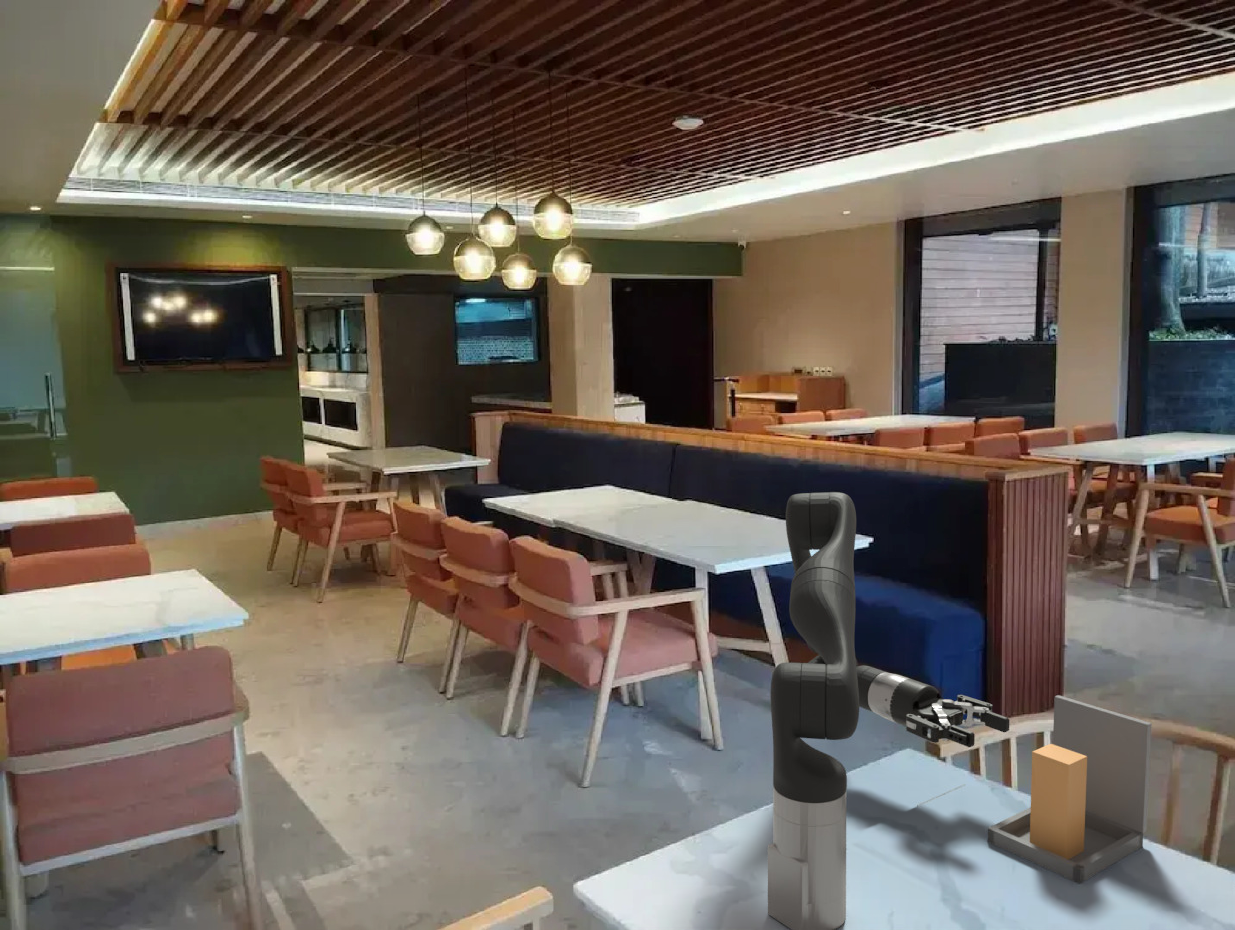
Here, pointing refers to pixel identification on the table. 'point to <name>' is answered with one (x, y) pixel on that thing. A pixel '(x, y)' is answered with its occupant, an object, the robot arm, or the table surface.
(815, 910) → the robot arm
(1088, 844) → the case
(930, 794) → the table surface
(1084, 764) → the block
